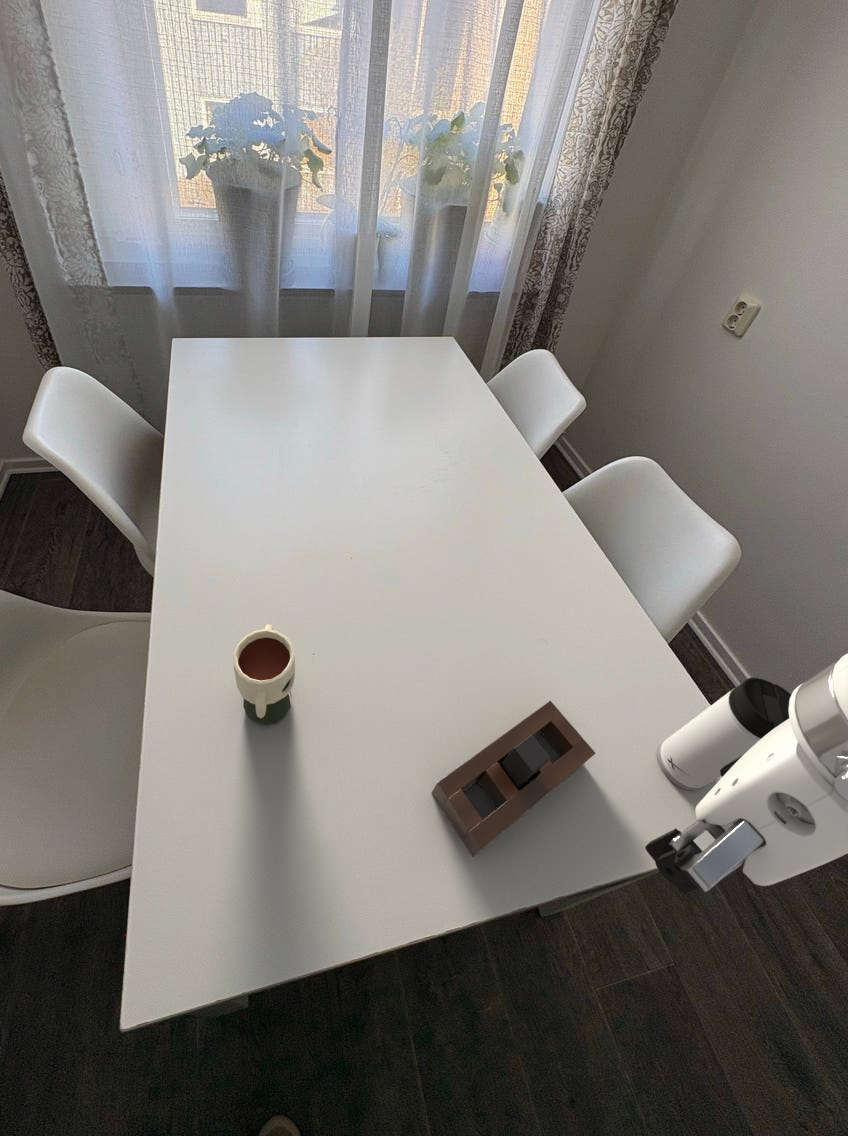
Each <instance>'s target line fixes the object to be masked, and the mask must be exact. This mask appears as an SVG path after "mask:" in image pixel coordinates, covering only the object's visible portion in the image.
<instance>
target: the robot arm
mask: <svg viewBox="0 0 848 1136" xmlns="http://www.w3.org/2000/svg"><path fill="white" fill-rule="evenodd" d="M788 710H789V719H787V720H786V721H784V722H783V723H781V724H780V725H778V726H777V727H776V728H774V729H773V730H771V731H770V732H769V733H768V734H766V735H765V736H764V737H763V738H761V739H760V740H759V741H758V742H757V743H756V744H755V745H754V746H752V747H751V748H750V749H749V750H748V751H747V752H746V753H745V754H743V755H741V756H740V757H738V758H736V759H735V760H733V761H731V762H730V763H728V764H726V765H725V766H724V767H723V768H722V769H721V770H720V774H721V777H720V779H719V781H717V782H716V784H714V786H713V787H711V789H710V790H709V791H708V792H707V793H706V794H705V796H704V797H702V798H701V800H700V801H699V802H698V803H697V805H696V806H695V819H696V820H695V821H694V822H692V823H691V824H690V825H688V826H687V827H686V828H684V830H682V831H681V830H679V829H678V828H673V829H672V830H670V831H667V832H666V833H663V834H662V835H659V836H658V837H656V838H654V839H653V840H650V841H649V842H648V843H647V844H646V845H645V848H644V849H645V851H646V852H647V853H648V855H649V857H651V858H652V860H653V861H654V862H655V867H656V869H657V870H658V871H659V872H660V874H661V875H662V876H663V877H664V878H665V880H666V881H668V882H669V883H670V884H672V885H674V886H675V887H676V889H677V890H678V891H679V892H681V893H682V894H689V893H692V892H694V891H702V892H703V893H706V892H709V891H710V890H711V889H712V888H714V887H715V886H716V885H717V884H718V883H719V882H721V881H722V880H723V879H724V878H726V877H727V876H729V875H730V874H732V873H733V872H734V871H736V870H737V869H738V868H739V867H741V866H742V865H743V867H742V873H743V874H744V875H745V876H746V877H747V878H748V879H749V880H750V881H751V882H752V883H753V884H754V885H755V886H756V885H757V886H759V887H767V886H772V885H775V884H778V883H780V882H783V881H785V880H788V879H790V878H793V877H796V876H798V875H801V874H803V873H806V872H808V871H811V870H813V869H816V868H819V867H820V866H823V865H825V864H828V863H830V862H832V861H835V860H836V859H839V858H841V857H844V856H845V855H847V854H848V652H847V653H846V654H844V655H842V656H841V657H839V658H838V659H837V660H835V661H832V662H831V664H830V663H829V665H828V666H826V667H824V668H823V669H822V670H820V671H819V672H817V673H815V674H814V675H812V676H811V677H810V678H807V680H805V681H803V683H801V684H799V685H798V686H797V687H796V688H795V689H793V691H792V693H791V697H790V700H789V708H788ZM730 824H732V825H731V826H730V827H728V828H727V829H726V830H725V828H724V827H725V826H727V825H730ZM706 831H707V832H708V833H709V834H710V835H711V836H712V838H713V839H715V840H713V842H711V843H710V844H709V845H708V846H707V847H705V849H703V850H702V849H701V848H700V846H699V845H698V844H697V843H696V842H695V840H696V839H697V838H699V837H700V836H701V835H703V834H704V833H705V832H706Z"/></svg>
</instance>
